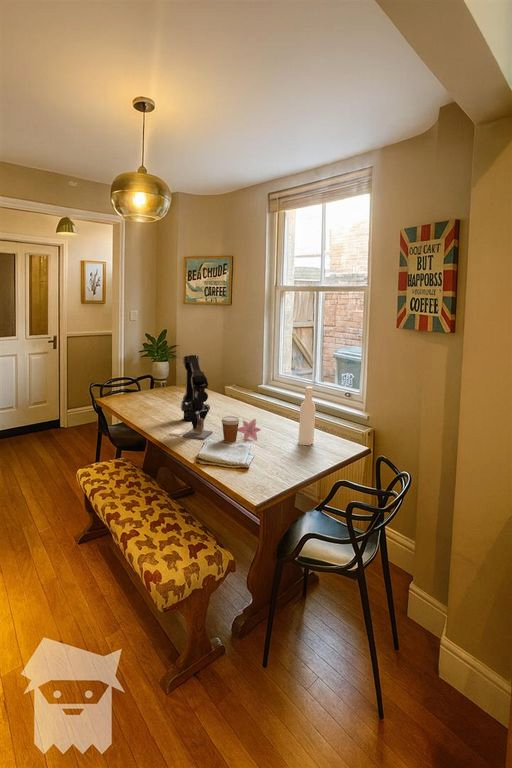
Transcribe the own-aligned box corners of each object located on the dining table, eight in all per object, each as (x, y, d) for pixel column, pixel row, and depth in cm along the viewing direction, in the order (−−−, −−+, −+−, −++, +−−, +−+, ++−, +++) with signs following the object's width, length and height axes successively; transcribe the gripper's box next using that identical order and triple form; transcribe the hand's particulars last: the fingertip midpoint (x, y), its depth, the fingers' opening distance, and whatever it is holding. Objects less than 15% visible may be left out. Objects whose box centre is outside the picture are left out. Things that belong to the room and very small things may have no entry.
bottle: (303, 439, 226) (307, 384, 220) (316, 443, 221) (320, 387, 215) (295, 443, 220) (298, 387, 214) (307, 447, 215) (311, 389, 209)
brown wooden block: (195, 431, 229) (195, 417, 228) (203, 432, 228) (203, 418, 226) (192, 433, 226) (192, 419, 225) (201, 434, 225) (201, 420, 224)
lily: (233, 439, 225) (236, 427, 219) (242, 426, 234) (245, 414, 228) (253, 449, 223) (257, 436, 217) (261, 435, 232) (265, 423, 226)
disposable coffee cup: (217, 439, 221) (217, 417, 219) (232, 436, 227) (233, 415, 225) (227, 444, 214) (228, 422, 211) (242, 441, 219) (243, 419, 217)
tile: (177, 428, 233) (169, 432, 226) (186, 430, 231) (179, 434, 224) (177, 431, 234) (169, 435, 226) (186, 433, 232) (179, 437, 224)
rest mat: (192, 430, 235) (192, 428, 234) (212, 433, 231) (212, 431, 231) (183, 436, 223) (183, 435, 223) (204, 439, 220) (204, 437, 220)
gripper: (191, 392, 234) (191, 419, 237) (176, 400, 217) (176, 429, 220) (210, 394, 231) (210, 422, 234) (196, 402, 214) (196, 431, 217)
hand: (198, 426), depth 226 cm, fingers open, 9 cm apart
